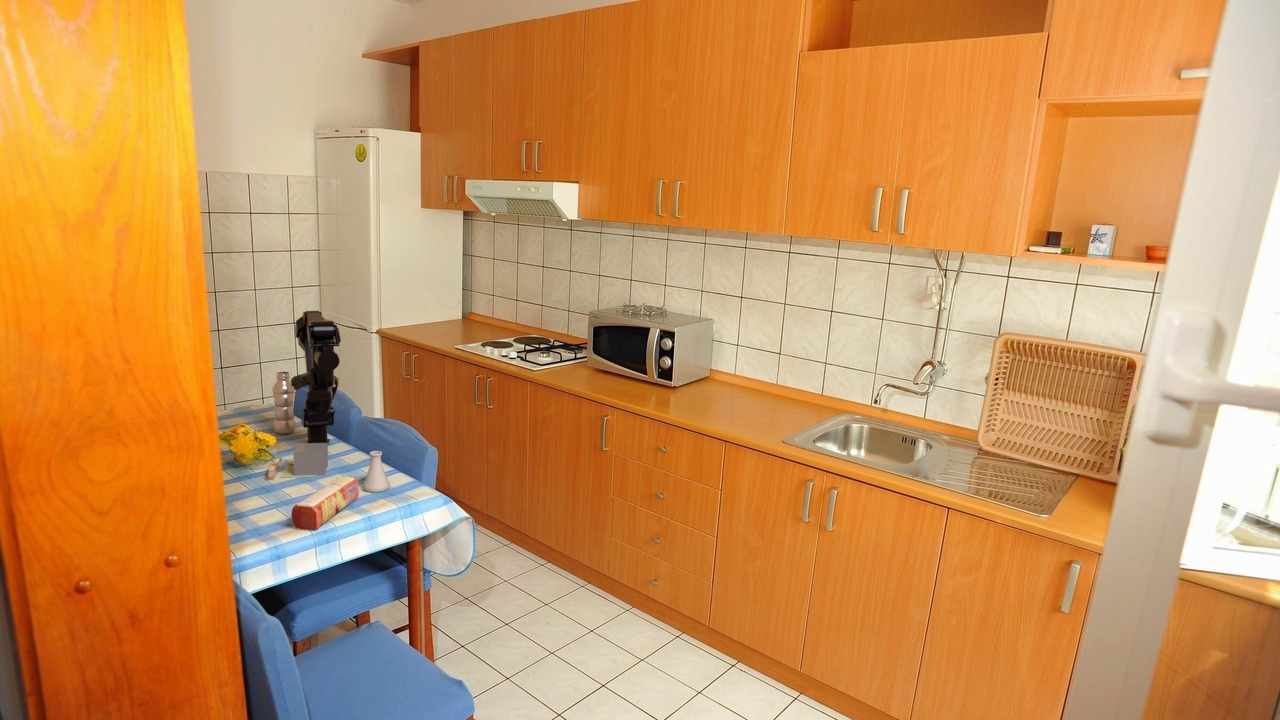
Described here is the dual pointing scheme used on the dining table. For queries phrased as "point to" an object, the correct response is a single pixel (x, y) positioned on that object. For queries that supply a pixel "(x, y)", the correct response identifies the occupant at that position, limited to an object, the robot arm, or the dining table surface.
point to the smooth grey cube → (310, 459)
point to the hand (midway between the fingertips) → (324, 415)
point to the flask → (376, 475)
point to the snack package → (325, 503)
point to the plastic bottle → (283, 404)
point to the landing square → (292, 473)
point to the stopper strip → (274, 468)
